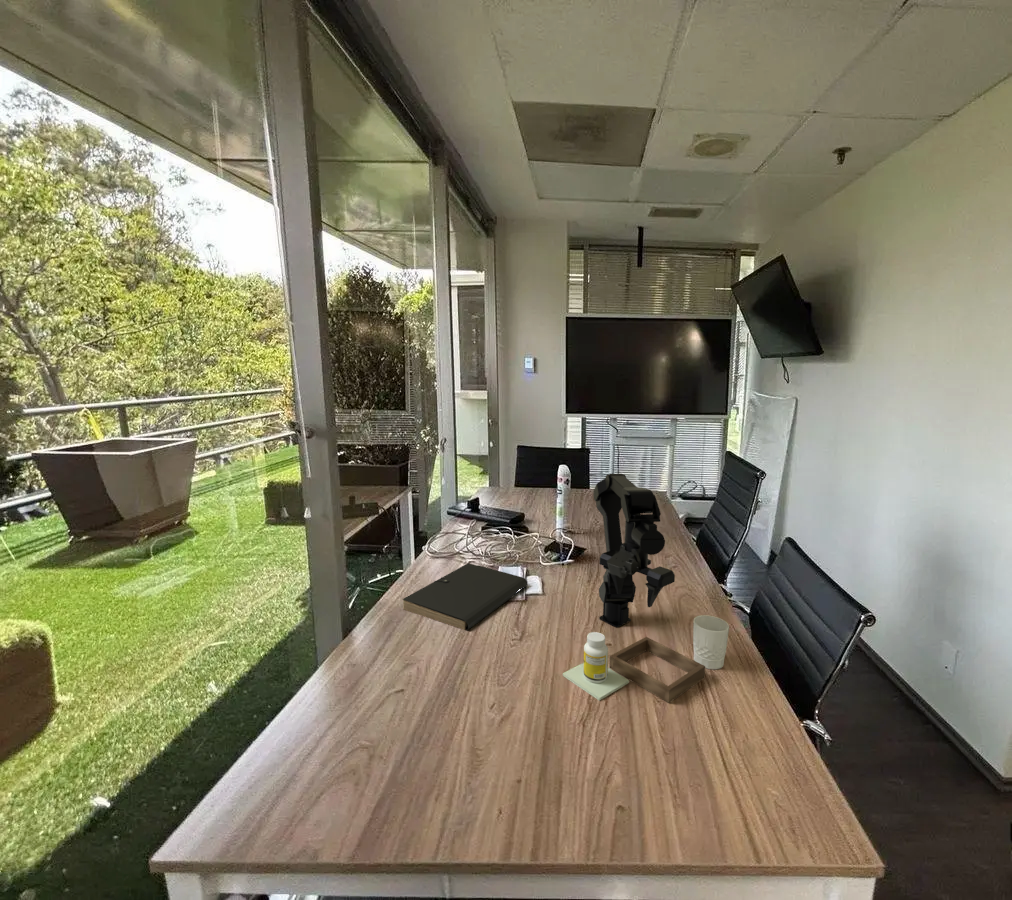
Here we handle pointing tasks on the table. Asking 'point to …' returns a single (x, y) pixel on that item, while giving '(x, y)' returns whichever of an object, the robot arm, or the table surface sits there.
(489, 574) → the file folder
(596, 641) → the supplement bottle
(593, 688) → the sage tile
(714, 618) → the white cup
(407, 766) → the table surface
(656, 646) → the wooden frame
